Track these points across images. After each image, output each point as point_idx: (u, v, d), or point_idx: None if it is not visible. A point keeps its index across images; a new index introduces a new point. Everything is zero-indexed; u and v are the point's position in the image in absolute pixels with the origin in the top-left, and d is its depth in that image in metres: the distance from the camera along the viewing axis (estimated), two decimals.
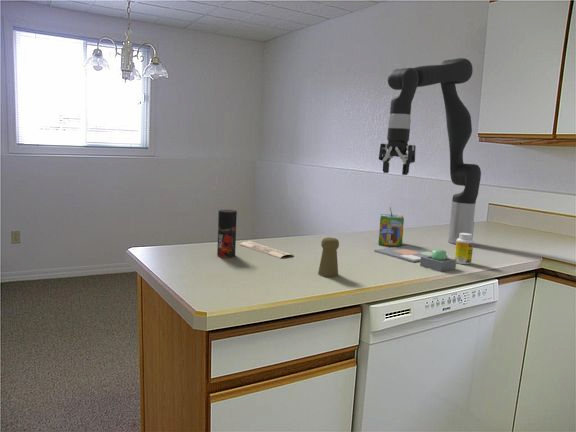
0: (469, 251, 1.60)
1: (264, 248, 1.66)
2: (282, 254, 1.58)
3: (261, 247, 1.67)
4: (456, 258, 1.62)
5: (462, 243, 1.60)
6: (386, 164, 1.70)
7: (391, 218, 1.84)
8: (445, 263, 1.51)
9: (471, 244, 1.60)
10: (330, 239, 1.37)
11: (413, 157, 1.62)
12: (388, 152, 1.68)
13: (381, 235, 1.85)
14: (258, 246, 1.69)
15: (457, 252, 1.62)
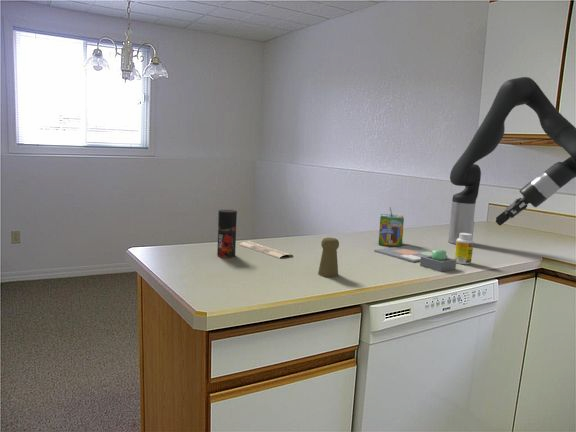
0: (469, 251, 1.60)
1: (263, 248, 1.66)
2: (281, 254, 1.58)
3: (260, 247, 1.67)
4: (456, 258, 1.62)
5: (462, 243, 1.60)
6: None
7: (391, 218, 1.84)
8: (445, 263, 1.51)
9: (471, 244, 1.60)
10: (330, 239, 1.37)
11: None
12: None
13: (381, 235, 1.85)
14: (257, 246, 1.68)
15: (457, 252, 1.62)
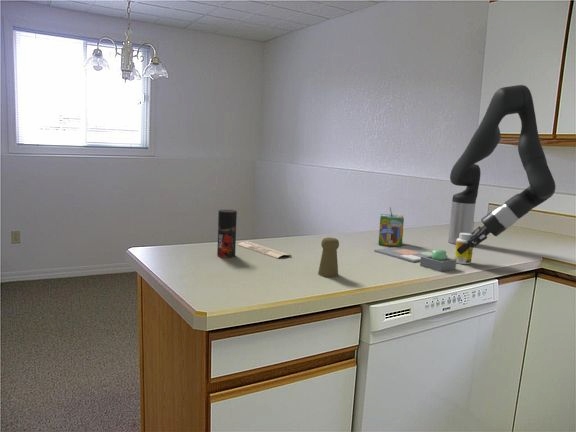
0: (469, 251, 1.60)
1: (262, 248, 1.65)
2: (280, 254, 1.58)
3: (259, 247, 1.67)
4: (456, 258, 1.62)
5: (462, 243, 1.60)
6: None
7: (391, 218, 1.84)
8: (445, 263, 1.51)
9: None
10: (330, 239, 1.37)
11: None
12: None
13: (381, 235, 1.85)
14: (256, 246, 1.68)
15: (457, 252, 1.62)
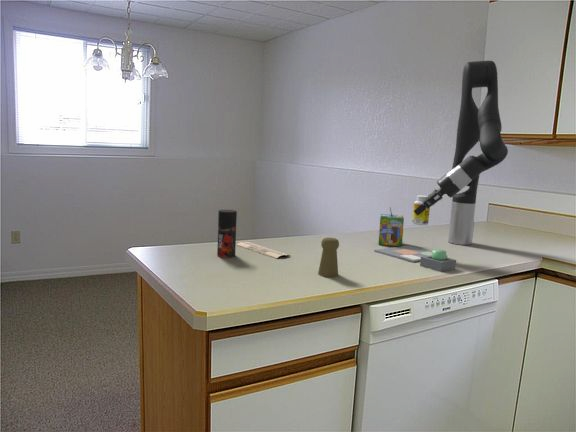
0: (425, 212, 1.66)
1: (261, 248, 1.65)
2: (279, 254, 1.58)
3: (258, 247, 1.66)
4: (414, 219, 1.68)
5: (419, 204, 1.66)
6: None
7: (391, 218, 1.84)
8: (445, 263, 1.51)
9: None
10: (330, 239, 1.37)
11: None
12: (436, 202, 1.65)
13: (381, 235, 1.85)
14: (255, 246, 1.68)
15: (414, 214, 1.68)
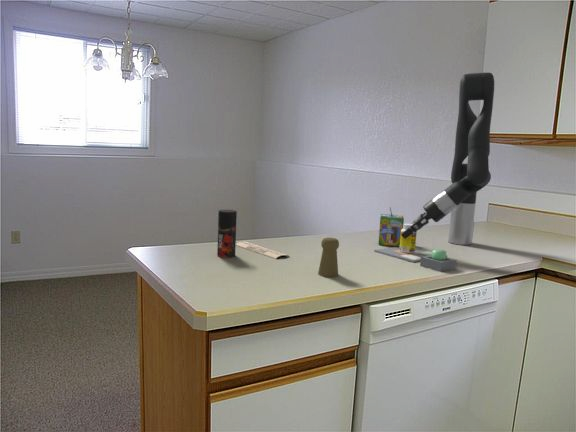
0: (412, 240, 1.70)
1: (259, 249, 1.65)
2: (277, 255, 1.57)
3: (257, 248, 1.66)
4: (400, 247, 1.72)
5: None
6: None
7: (391, 218, 1.84)
8: (445, 263, 1.51)
9: (414, 234, 1.70)
10: (330, 239, 1.37)
11: None
12: None
13: (381, 235, 1.85)
14: (254, 247, 1.67)
15: (401, 242, 1.72)
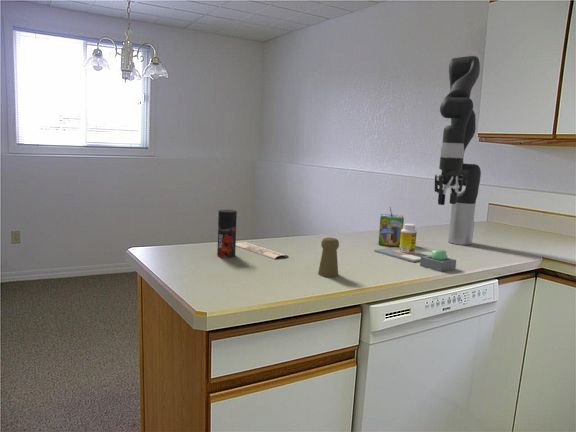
0: (412, 240, 1.70)
1: (258, 249, 1.64)
2: (276, 255, 1.57)
3: (255, 248, 1.66)
4: (400, 247, 1.72)
5: (406, 233, 1.70)
6: None
7: (391, 218, 1.84)
8: (445, 263, 1.51)
9: (414, 234, 1.70)
10: (330, 239, 1.37)
11: None
12: (449, 182, 1.63)
13: (381, 235, 1.85)
14: (252, 247, 1.67)
15: (401, 242, 1.72)
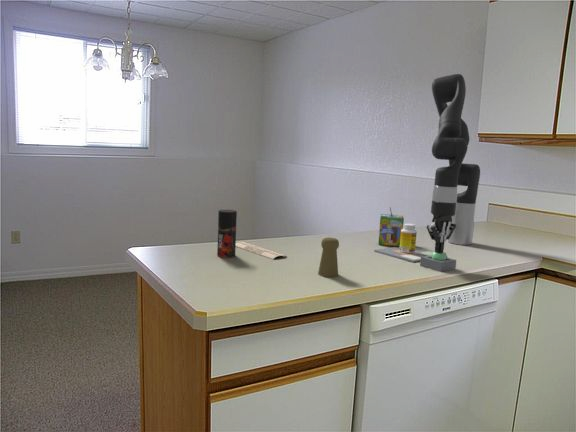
0: (412, 240, 1.70)
1: (257, 249, 1.64)
2: (275, 255, 1.56)
3: (254, 248, 1.65)
4: (400, 247, 1.72)
5: (406, 233, 1.70)
6: None
7: (391, 218, 1.84)
8: (445, 263, 1.51)
9: (414, 234, 1.70)
10: (330, 239, 1.37)
11: None
12: (443, 229, 1.51)
13: (381, 235, 1.85)
14: (251, 247, 1.67)
15: (401, 242, 1.72)
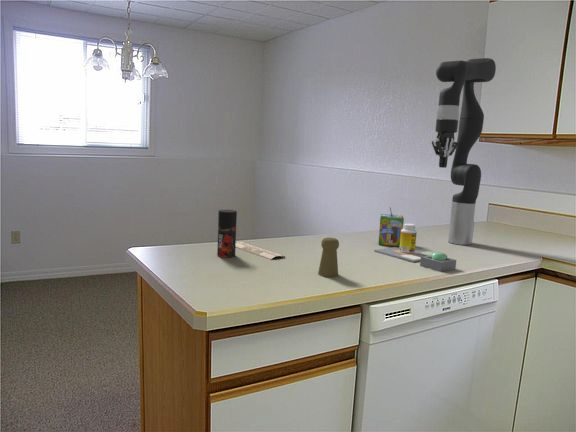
0: (412, 240, 1.70)
1: (255, 249, 1.64)
2: (273, 255, 1.56)
3: (252, 248, 1.65)
4: (400, 247, 1.72)
5: (406, 233, 1.70)
6: None
7: (391, 218, 1.84)
8: (445, 263, 1.51)
9: (414, 234, 1.70)
10: (330, 239, 1.37)
11: None
12: (447, 144, 1.68)
13: (381, 235, 1.85)
14: (249, 247, 1.66)
15: (401, 242, 1.72)
